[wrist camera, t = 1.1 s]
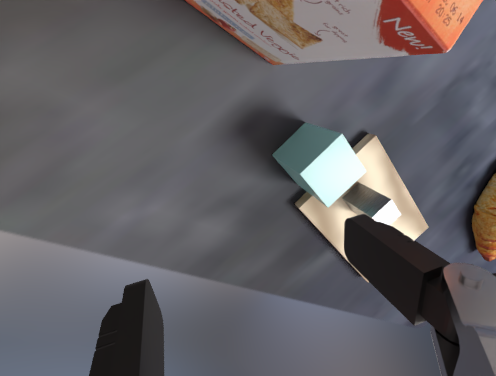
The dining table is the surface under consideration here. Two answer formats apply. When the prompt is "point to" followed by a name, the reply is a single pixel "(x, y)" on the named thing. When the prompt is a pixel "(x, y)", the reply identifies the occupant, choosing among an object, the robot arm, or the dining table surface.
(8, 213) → the dining table surface
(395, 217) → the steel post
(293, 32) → the cracker box
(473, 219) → the croissant
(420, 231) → the birch board
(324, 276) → the dining table surface
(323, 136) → the light blue cube
